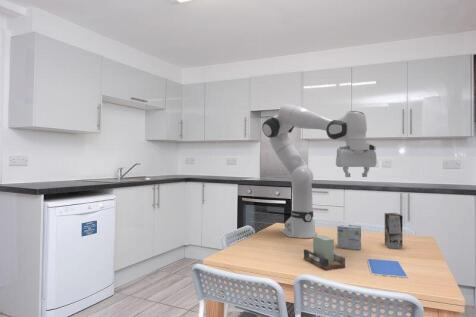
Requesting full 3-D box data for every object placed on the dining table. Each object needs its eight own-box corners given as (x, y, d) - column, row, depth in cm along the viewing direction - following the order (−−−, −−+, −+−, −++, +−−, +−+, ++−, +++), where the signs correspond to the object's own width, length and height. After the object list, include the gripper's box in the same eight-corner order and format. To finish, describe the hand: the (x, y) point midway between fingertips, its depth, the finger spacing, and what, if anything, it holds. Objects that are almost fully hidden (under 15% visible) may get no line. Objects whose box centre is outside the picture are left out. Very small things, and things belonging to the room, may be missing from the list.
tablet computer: (408, 280, 116) (408, 276, 116) (371, 276, 120) (371, 273, 120) (398, 264, 135) (398, 261, 135) (366, 261, 138) (366, 258, 138)
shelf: (303, 258, 139) (303, 249, 140) (321, 256, 143) (321, 247, 143) (325, 270, 124) (325, 260, 125) (345, 267, 128) (345, 257, 128)
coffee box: (403, 249, 156) (403, 215, 156) (388, 248, 157) (388, 215, 157) (397, 244, 165) (397, 212, 165) (384, 243, 166) (384, 212, 166)
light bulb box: (361, 247, 160) (361, 225, 160) (360, 250, 154) (360, 227, 154) (338, 244, 164) (338, 223, 164) (337, 247, 158) (337, 225, 158)
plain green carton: (324, 262, 129) (324, 240, 129) (313, 257, 137) (313, 235, 137) (334, 261, 131) (334, 239, 131) (322, 256, 138) (322, 235, 138)
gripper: (341, 145, 140) (341, 177, 140) (378, 146, 147) (378, 177, 147) (332, 146, 146) (332, 177, 145) (368, 147, 153) (368, 176, 153)
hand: (356, 177), depth 146 cm, fingers open, 8 cm apart
